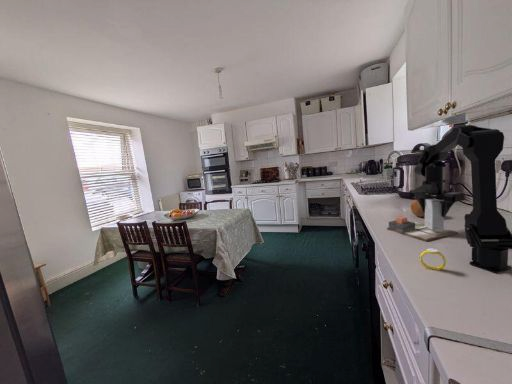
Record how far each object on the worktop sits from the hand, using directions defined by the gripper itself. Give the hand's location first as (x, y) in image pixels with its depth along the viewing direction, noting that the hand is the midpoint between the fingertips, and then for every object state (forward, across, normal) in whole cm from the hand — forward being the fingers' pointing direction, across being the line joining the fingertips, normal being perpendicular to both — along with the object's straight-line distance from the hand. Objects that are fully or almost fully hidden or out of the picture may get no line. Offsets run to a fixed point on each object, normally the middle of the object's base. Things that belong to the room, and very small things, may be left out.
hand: (433, 215), depth 92 cm
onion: (+8, -19, +18) cm, 27 cm away
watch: (+8, +20, -28) cm, 35 cm away
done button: (+5, -9, -7) cm, 12 cm away
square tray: (+8, -4, -2) cm, 9 cm away
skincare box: (+6, 0, 0) cm, 6 cm away
